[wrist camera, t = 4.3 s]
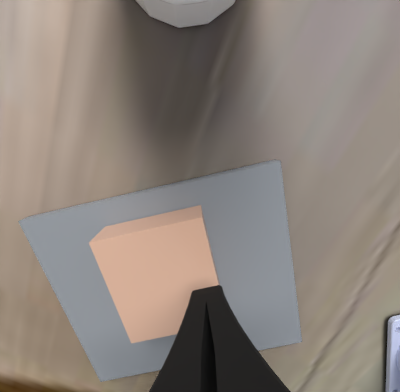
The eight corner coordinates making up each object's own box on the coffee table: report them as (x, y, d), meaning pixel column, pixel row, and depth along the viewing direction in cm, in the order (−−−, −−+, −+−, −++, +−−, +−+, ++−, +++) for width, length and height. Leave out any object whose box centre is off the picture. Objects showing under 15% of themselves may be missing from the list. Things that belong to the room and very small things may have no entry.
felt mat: (297, 332, 16) (302, 341, 16) (104, 370, 17) (100, 381, 16) (275, 159, 13) (280, 161, 12) (28, 216, 13) (18, 221, 12)
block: (227, 323, 12) (131, 343, 12) (223, 297, 14) (140, 314, 14) (202, 217, 10) (88, 242, 11) (200, 204, 12) (105, 225, 13)
